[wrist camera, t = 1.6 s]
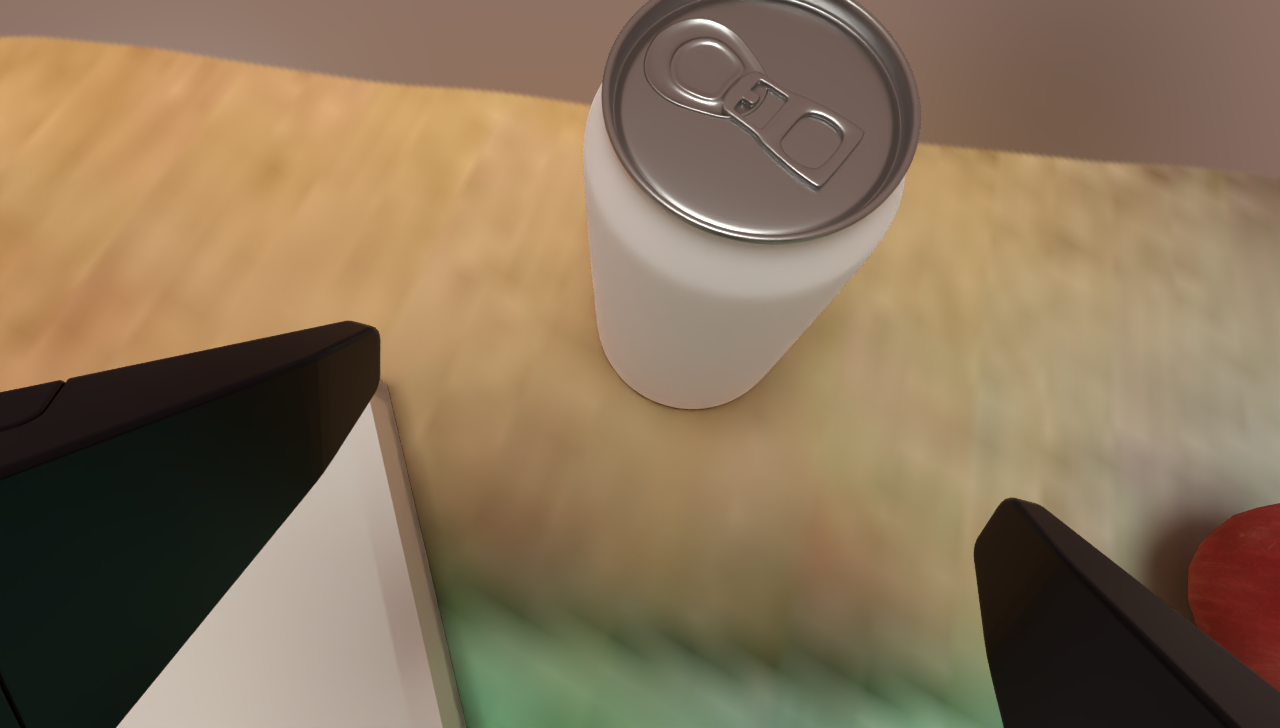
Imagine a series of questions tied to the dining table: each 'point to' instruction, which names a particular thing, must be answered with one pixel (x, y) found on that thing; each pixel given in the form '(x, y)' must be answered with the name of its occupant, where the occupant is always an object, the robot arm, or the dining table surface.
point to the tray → (324, 614)
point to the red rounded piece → (1241, 589)
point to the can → (738, 183)
